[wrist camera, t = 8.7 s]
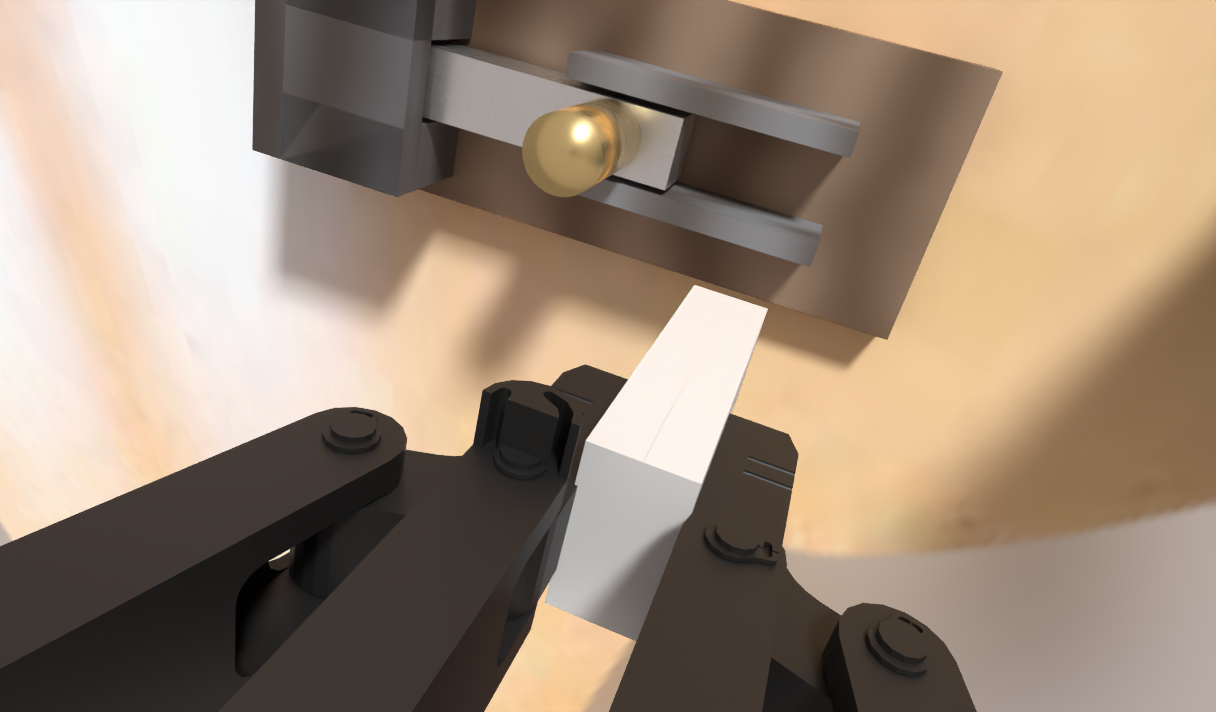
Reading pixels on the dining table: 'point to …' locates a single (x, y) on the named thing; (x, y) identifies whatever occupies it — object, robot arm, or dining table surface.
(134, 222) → the dining table surface
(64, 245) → the dining table surface
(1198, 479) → the dining table surface
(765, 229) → the lock frame
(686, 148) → the bolt
